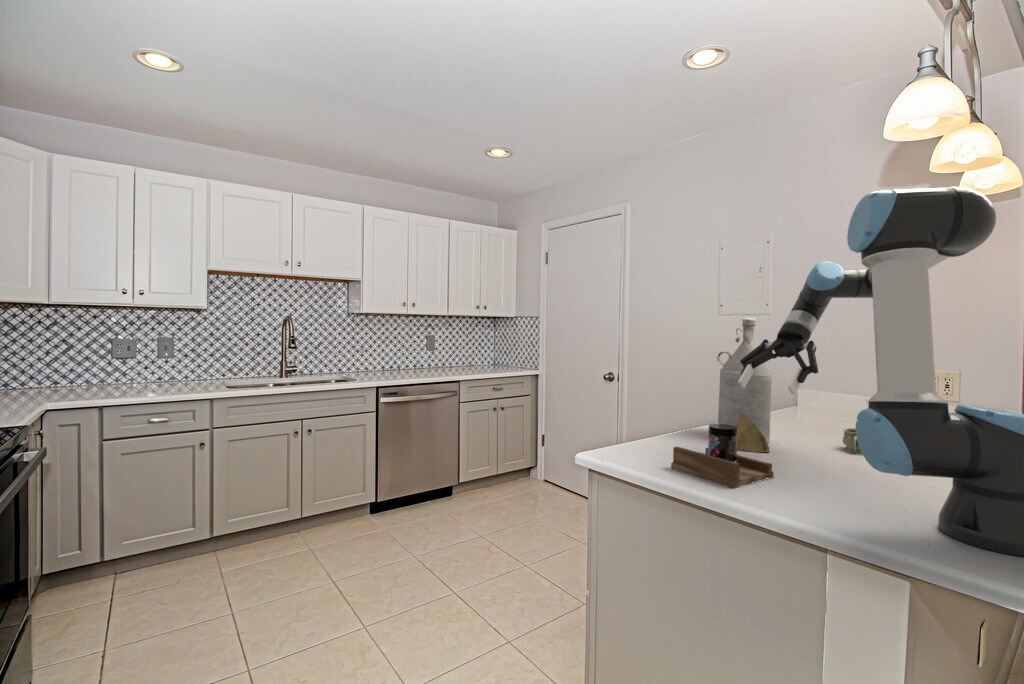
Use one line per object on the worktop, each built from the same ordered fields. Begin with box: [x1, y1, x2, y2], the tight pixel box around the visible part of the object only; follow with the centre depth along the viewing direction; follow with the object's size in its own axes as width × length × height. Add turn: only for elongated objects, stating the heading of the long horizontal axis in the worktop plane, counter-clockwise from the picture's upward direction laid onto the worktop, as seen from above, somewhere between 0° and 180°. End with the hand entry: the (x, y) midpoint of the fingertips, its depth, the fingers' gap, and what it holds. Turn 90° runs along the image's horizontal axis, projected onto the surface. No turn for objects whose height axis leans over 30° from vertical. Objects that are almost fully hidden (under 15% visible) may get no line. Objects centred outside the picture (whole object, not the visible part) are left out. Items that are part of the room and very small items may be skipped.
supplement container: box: [707, 423, 738, 462], centre depth 126 cm, size 7×7×10 cm
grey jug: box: [716, 317, 773, 444], centre depth 162 cm, size 13×17×40 cm
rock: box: [735, 416, 771, 453], centre depth 148 cm, size 11×9×10 cm
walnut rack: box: [670, 446, 775, 489], centre depth 126 cm, size 16×18×6 cm
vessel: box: [842, 427, 863, 456], centre depth 148 cm, size 12×9×6 cm
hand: (764, 387), depth 131 cm, fingers open, 13 cm apart
